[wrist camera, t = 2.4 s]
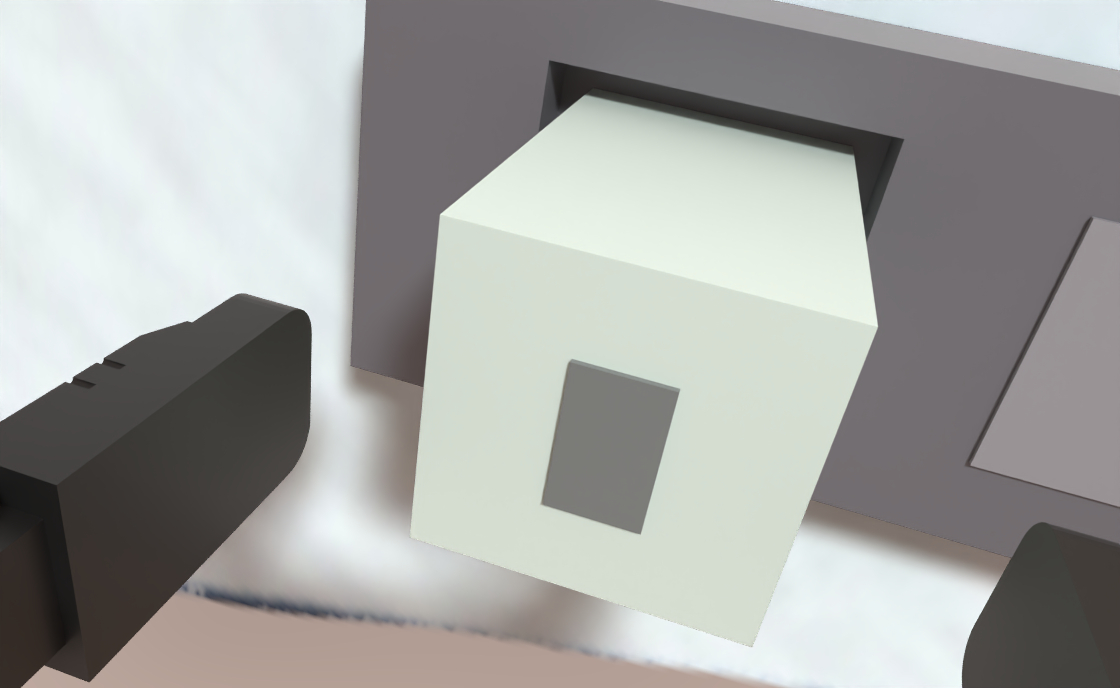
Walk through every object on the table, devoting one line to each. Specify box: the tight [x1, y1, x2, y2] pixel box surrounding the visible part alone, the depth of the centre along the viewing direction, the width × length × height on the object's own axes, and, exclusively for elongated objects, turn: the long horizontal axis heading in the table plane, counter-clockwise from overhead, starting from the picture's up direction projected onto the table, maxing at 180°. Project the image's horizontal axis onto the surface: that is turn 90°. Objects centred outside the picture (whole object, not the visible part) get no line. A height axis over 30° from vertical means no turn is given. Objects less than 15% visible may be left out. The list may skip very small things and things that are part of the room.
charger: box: [410, 88, 878, 647], centre depth 13 cm, size 4×4×7 cm
